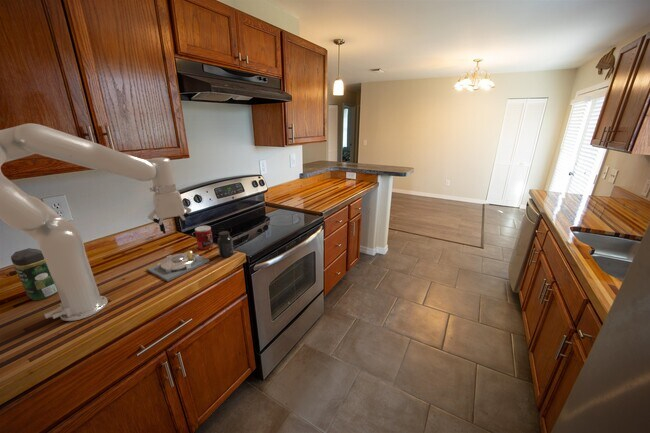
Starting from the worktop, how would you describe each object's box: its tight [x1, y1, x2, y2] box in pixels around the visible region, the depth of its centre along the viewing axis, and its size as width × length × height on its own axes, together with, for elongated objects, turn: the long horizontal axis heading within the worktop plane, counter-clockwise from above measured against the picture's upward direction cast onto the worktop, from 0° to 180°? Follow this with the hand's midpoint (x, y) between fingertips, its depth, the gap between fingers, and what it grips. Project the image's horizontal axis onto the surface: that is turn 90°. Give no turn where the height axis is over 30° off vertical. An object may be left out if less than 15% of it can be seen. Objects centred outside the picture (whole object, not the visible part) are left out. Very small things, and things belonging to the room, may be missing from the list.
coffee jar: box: [10, 247, 58, 301], centre depth 98 cm, size 10×8×19 cm
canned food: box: [194, 225, 214, 251], centre depth 139 cm, size 8×8×11 cm
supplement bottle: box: [217, 230, 235, 258], centre depth 130 cm, size 7×7×12 cm
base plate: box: [146, 252, 211, 282], centre depth 121 cm, size 20×17×1 cm
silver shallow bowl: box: [157, 249, 198, 273], centre depth 120 cm, size 15×16×6 cm
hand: (173, 230), depth 111 cm, fingers open, 6 cm apart
